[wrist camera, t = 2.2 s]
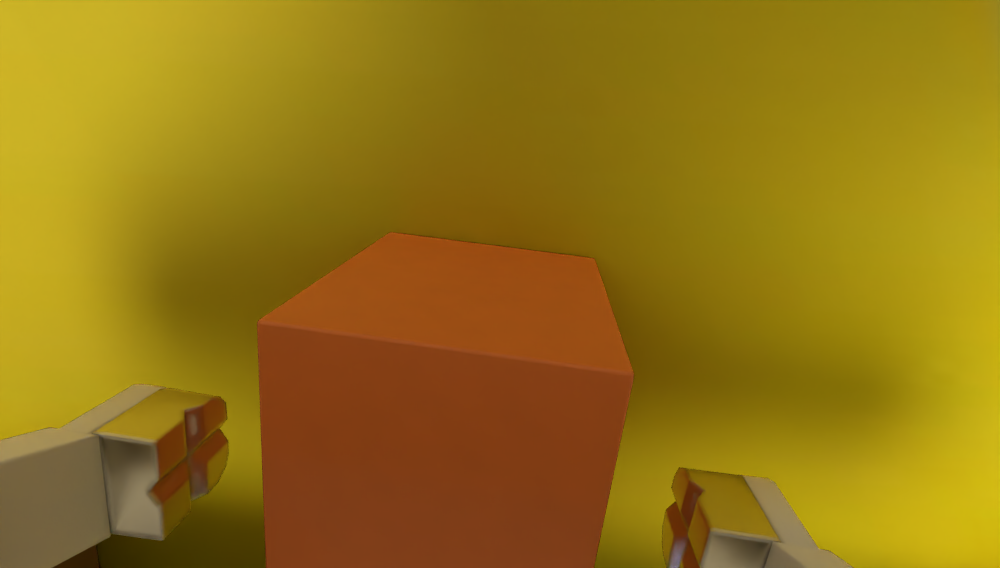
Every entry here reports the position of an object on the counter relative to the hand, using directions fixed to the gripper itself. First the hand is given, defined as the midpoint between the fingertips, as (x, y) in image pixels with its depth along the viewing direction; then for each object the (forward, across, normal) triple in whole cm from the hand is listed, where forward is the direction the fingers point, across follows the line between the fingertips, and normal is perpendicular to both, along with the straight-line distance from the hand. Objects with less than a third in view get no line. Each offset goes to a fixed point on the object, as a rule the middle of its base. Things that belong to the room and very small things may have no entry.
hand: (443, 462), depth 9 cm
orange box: (+4, 0, -1) cm, 4 cm away
